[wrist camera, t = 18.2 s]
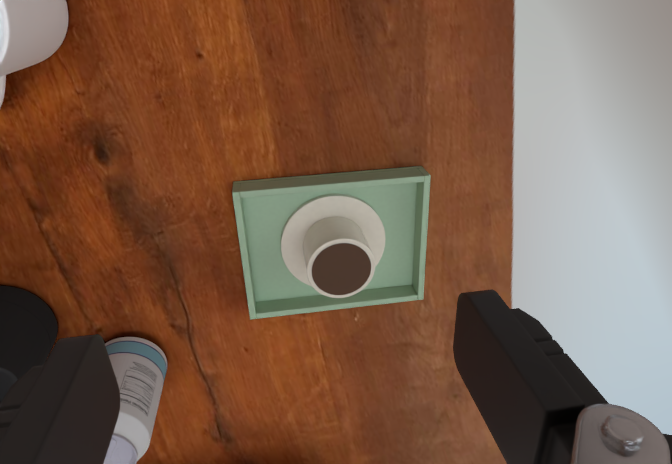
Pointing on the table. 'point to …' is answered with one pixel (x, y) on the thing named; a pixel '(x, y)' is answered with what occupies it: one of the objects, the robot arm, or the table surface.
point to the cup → (29, 33)
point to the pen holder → (23, 334)
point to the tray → (291, 192)
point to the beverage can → (135, 396)
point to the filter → (333, 244)
